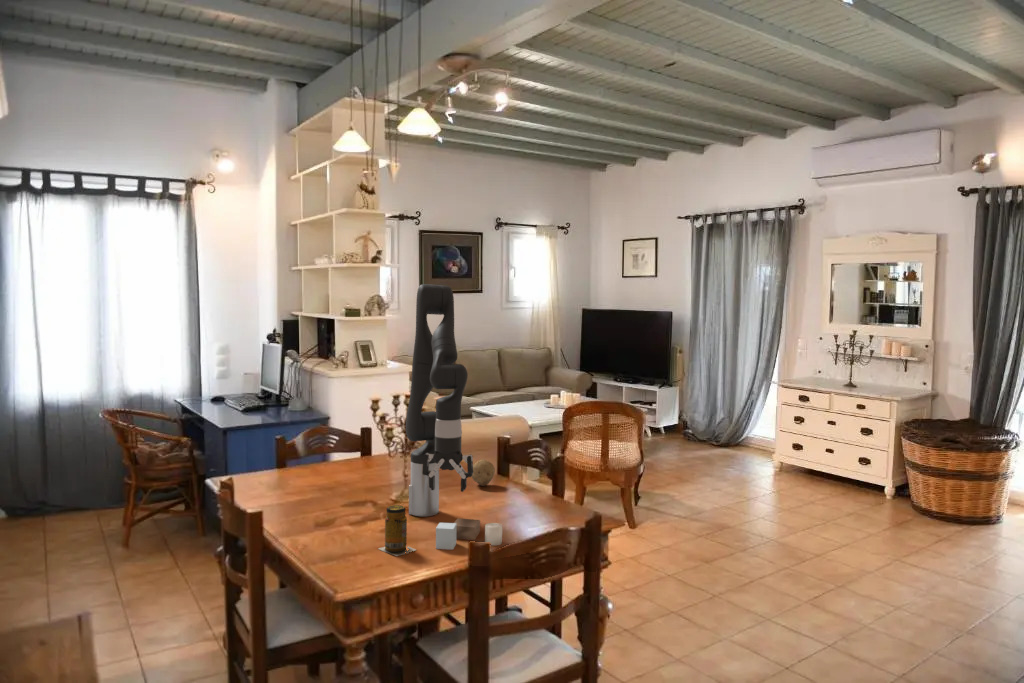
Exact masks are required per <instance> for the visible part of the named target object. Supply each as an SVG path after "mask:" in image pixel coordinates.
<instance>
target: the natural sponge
mask: <svg viewBox="0 0 1024 683" xmlns="http://www.w3.org/2000/svg"><path fill="white" fill-rule="evenodd" d="M495 471H496V470H495V465H493V463H492V462H491V461H490V460H486V459H479V460H477V461H476V462H475V463H473V475H472V476H471V479H472V480H473V481H474V482H476V483H477V484H478V485H479V486H481V487H486V486H487V485H489V483H490V482H491V481H492V480H493V479H494V476H495Z"/></svg>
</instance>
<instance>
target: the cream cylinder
mask: <svg viewBox="0 0 1024 683" xmlns="http://www.w3.org/2000/svg"><path fill="white" fill-rule="evenodd" d="M485 542H490V543H491V545H490V546H500V545H501V544H503V524H501V523H497V522H490V523H486V524H485V525H484V543H485Z"/></svg>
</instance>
